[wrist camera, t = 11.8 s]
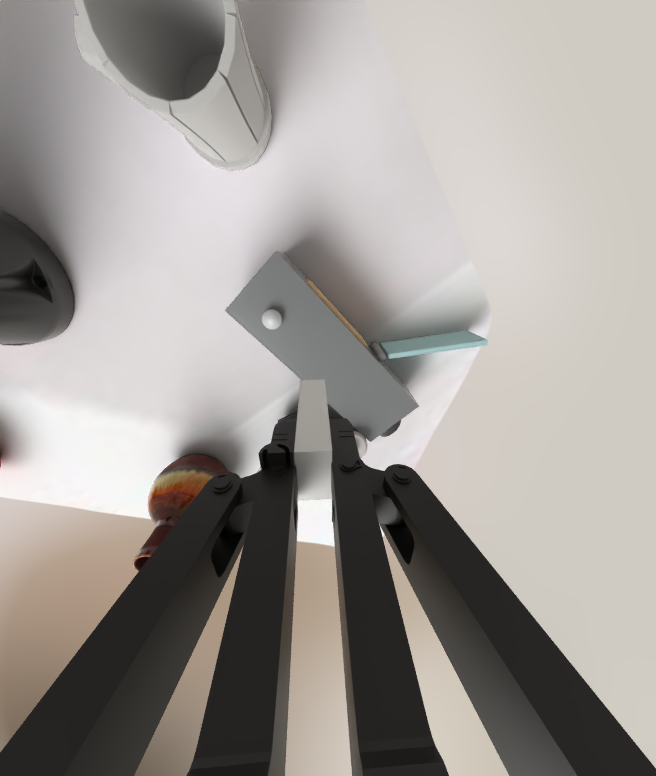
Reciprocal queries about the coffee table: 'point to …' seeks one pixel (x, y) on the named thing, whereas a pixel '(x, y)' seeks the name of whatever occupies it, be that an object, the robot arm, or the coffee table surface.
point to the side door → (427, 344)
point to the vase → (175, 497)
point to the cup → (183, 70)
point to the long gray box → (321, 347)
